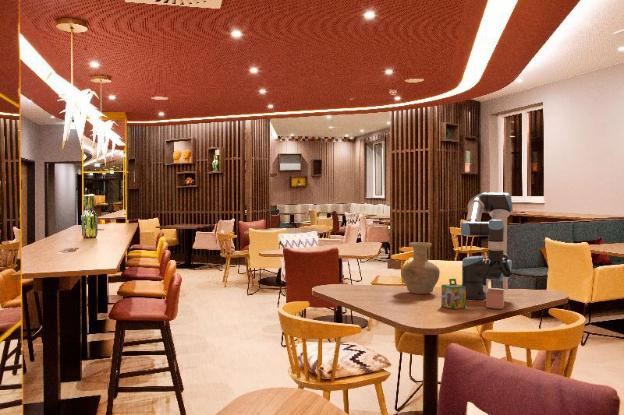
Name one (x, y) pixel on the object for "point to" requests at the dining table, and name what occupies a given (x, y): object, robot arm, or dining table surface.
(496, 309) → the stud
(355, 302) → the dining table surface
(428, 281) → the vase
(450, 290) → the chalk box
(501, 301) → the terracotta cube
